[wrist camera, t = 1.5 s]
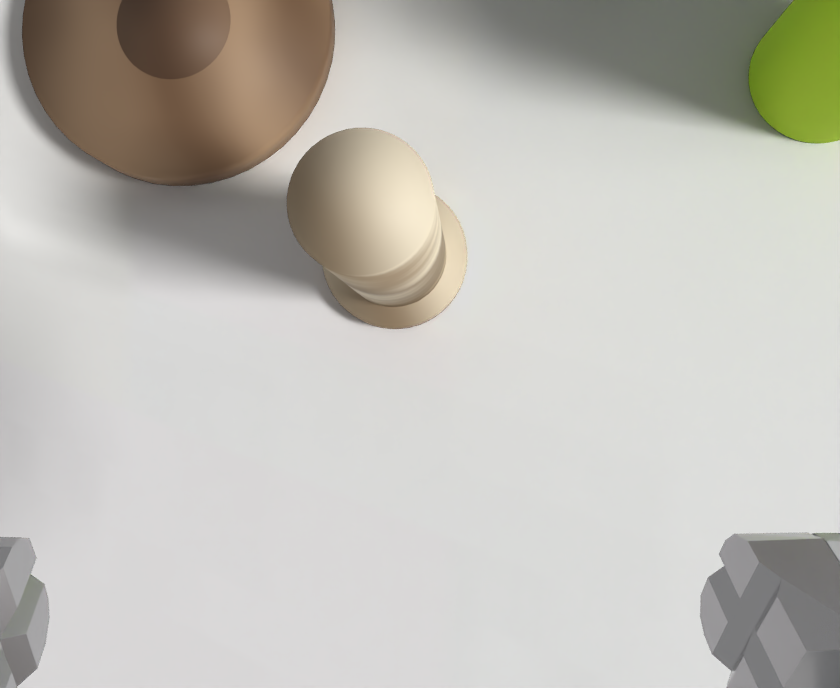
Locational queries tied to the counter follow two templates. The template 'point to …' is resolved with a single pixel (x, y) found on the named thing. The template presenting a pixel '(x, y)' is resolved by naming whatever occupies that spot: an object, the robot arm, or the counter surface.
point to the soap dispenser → (800, 72)
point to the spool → (377, 228)
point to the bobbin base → (179, 79)
